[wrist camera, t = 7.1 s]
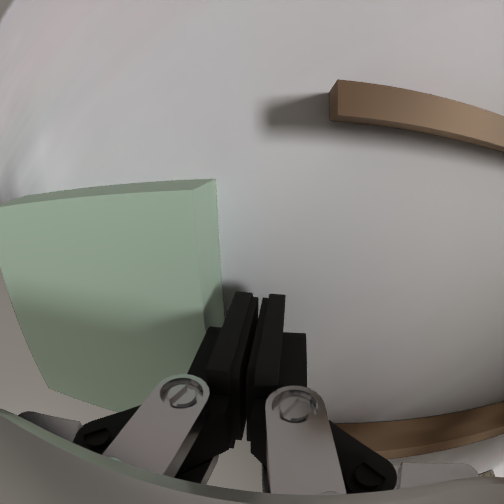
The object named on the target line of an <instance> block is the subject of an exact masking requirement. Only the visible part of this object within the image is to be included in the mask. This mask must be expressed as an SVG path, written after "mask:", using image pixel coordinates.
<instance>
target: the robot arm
mask: <svg viewBox="0 0 504 504" xmlns="http://www.w3.org/2000/svg"><path fill="white" fill-rule="evenodd" d="M284 312H285V295H279V294H269V298H263V300H262V304H261V309H260V314H259V318H258V297H253V294H252V293H248V292H236V293H235V295H234V298H233V301H232V303H231V306H230V308H229V311H228V313H227V316H226V318H225V321H224V323H223V326H222V327H213V326H210V327H209V328H208V329H207V331H206V334H205V336H204V338H203V340H202V342H201V344H200V347H199V349H198V351H197V353H196V355H195V358H194V360H193V362H192V364H191V366H190V368H189V371H188V373H187V374H177V375H173V376H169V377H167V378H165V379H163V380H162V381H161V382H160V383H159V384H158V385H157V386H156V387H155V388H154V390H153V391H152V392H151V393H150V395H149V396H148V397H147V399H146V400H145V401H144V402H143V404H142V405H139V406H136V407H133V408H130V409H127V410H125V411H122V412H119V413H116V414H113V415H110V416H106V417H104V418H100V419H97V420H94V421H91V422H89V423H87V424H85V425H81V423H80V421H75V420H69V419H64V418H59V417H54V416H50V415H45V414H40V413H37V412H30V411H27V412H23V413H21V414H19V415H18V416H17V415H15V414H13V413H10V412H8V411H6V410H3V409H0V504H504V477H479V475H478V472H477V471H476V470H475V469H474V468H473V467H472V466H470V465H468V464H463V463H450V464H434V463H407V462H402V464H401V465H392V464H391V463H390V462H389V461H388V460H387V459H385V458H384V457H382V456H381V455H379V454H378V453H376V452H375V451H373V450H372V449H370V448H369V447H367V446H365V445H364V444H363V443H361V442H360V441H358V440H357V439H355V438H354V437H352V436H351V435H349V434H348V433H346V432H345V431H344V430H342V429H341V428H339V427H338V426H336V425H335V424H334V423H332V422H331V421H329V420H328V416H327V412H326V408H325V404H324V402H323V400H322V398H321V396H319V395H318V394H317V393H316V392H315V391H313V390H311V389H309V388H307V353H306V333H287V332H283V326H284ZM246 418H247V441H251V453H252V454H253V455H254V456H255V457H256V458H257V459H258V460H259V461H260V462H261V463H262V487H263V493H261V492H251V491H242V490H234V489H228V488H221V487H215V486H209V485H206V484H207V482H208V480H209V477H210V475H211V474H212V472H213V469H214V467H215V465H216V463H217V461H218V457H219V454H221V453H223V452H225V451H227V450H229V448H234V444H235V440H242V437H243V433H244V428H245V423H246Z"/></svg>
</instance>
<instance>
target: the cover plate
mask: <svg viewBox="0 0 504 504" xmlns="http://www.w3.org/2000/svg"><path fill="white" fill-rule="evenodd" d="M0 267H1V271H2V274H3V278H4V281H5V285H6V288H7V291H8V294H9V297H10V300H11V303H12V306H13V309H14V312H15V314H16V317H17V320H18V322H19V325H20V327H21V330H22V332H23V335H24V337H25V340H26V342H27V344H28V346H29V349H30V351H31V353H32V356H33V358H34V360H35V362H36V364H37V366H38V368H39V370H40V372H41V374H42V376H43V378H44V380H45V382H46V384H47V386H48V388H50V389H52V390H55V391H57V392H60V393H63V394H65V395H68V396H70V397H73V398H76V399H79V400H82V401H84V402H87V403H90V404H93V405H96V406H100V407H103V408H106V409H109V410H112V411H116V412H122V411H125V410H127V409H130V408H133V407H136V406H139V405H142V404H143V402H144V401H145V400H146V399H147V397H148V396H149V395H150V393H151V392H152V391H153V390H154V388H155V387H156V386H157V385H158V384H159V383H160V382H161V381H162V380H163V379H165V378H167V377H169V376H173V375H177V374H187V373H188V371H189V368H190V366H191V364H192V362H193V360H194V358H195V355H196V353H197V351H198V349H199V347H200V344H201V342H202V340H203V338H204V336H205V334H206V331H207V329H208V328H209V327H210V326H213V327H222V326H223V323H224V321H225V317H224V304H223V290H222V276H221V261H220V245H219V228H218V209H217V188H216V179H196V180H175V181H158V182H143V183H131V184H119V185H108V186H98V187H89V188H80V189H72V190H64V191H56V192H49V193H42V194H35V195H28V196H24V197H21V198H18V199H15V200H12V201H9V202H6V203H3V204H0Z"/></svg>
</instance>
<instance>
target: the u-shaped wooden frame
mask: <svg viewBox="0 0 504 504" xmlns="http://www.w3.org/2000/svg"><path fill="white" fill-rule="evenodd" d="M329 121H338V122H349V123H359V124H368V125H376V126H384V127H391V128H398V129H404V130H410V131H416V132H421V133H427V134H432V135H437V136H442V137H447V138H451V139H456V140H460V141H464V142H468V143H472V144H476V145H480V146H484V147H487V148H491V149H495V150H498V151H501V152H504V116H501V115H499V114H496V113H493V112H490V111H487V110H484V109H481V108H478V107H475V106H472V105H468V104H465V103H462V102H458V101H454V100H451V99H447V98H443V97H439V96H435V95H431V94H426V93H422V92H417V91H412V90H407V89H402V88H397V87H391V86H385V85H378V84H371V83H364V82H356V81H347V80H337V81H336V83H335V84H334V86H333V87H332V89H331V90H330V92H329ZM335 425H336V426H338V427H339V428H341V429H342V430H344V431H345V432H346V433H348V434H349V435H351V436H352V437H354V438H355V439H357V440H358V441H360V442H361V443H363V444H364V445H365V446H367V447H369V448H370V449H372V450H373V451H375V452H376V453H378V454H379V455H381V456H382V457H384V458H385V459H394V458H401V457H408V456H415V455H421V454H427V453H432V452H437V451H442V450H447V449H451V448H455V447H459V446H463V445H467V444H471V443H475V442H478V441H482V440H485V439H488V438H492V437H495V436H498V435H501V434H504V402H500V403H497V404H493V405H489V406H485V407H480V408H476V409H471V410H466V411H461V412H456V413H451V414H445V415H439V416H432V417H425V418H418V419H409V420H399V421H388V422H374V423H352V424H335Z"/></svg>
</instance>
